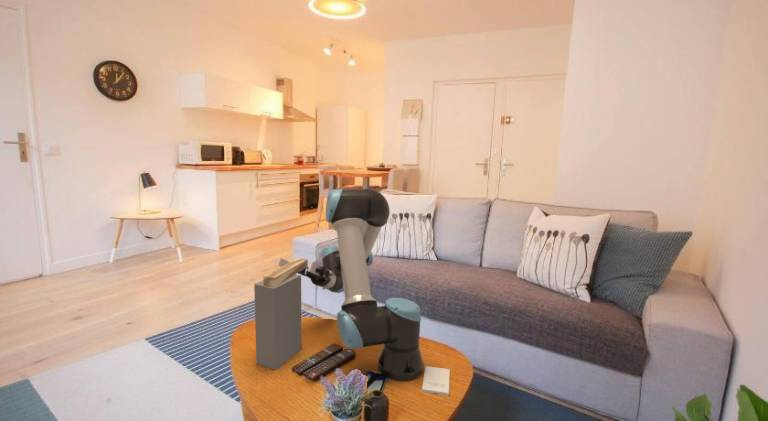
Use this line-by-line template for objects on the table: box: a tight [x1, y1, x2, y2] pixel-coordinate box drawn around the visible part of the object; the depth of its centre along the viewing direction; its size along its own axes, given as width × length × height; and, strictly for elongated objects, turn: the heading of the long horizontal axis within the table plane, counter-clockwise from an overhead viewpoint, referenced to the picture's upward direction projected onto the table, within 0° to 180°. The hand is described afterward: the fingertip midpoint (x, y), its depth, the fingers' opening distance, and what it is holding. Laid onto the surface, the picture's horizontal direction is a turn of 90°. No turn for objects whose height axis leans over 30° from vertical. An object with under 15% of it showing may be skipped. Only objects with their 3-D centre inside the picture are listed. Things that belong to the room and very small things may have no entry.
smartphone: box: [364, 370, 389, 393], centre depth 114 cm, size 7×1×15 cm
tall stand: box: [253, 274, 303, 371], centre depth 127 cm, size 8×14×28 cm, turn 156°
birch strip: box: [262, 257, 309, 287], centre depth 129 cm, size 4×22×3 cm, turn 163°
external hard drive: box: [421, 365, 451, 397], centre depth 118 cm, size 2×8×12 cm
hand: (293, 264), depth 132 cm, fingers open, 13 cm apart
